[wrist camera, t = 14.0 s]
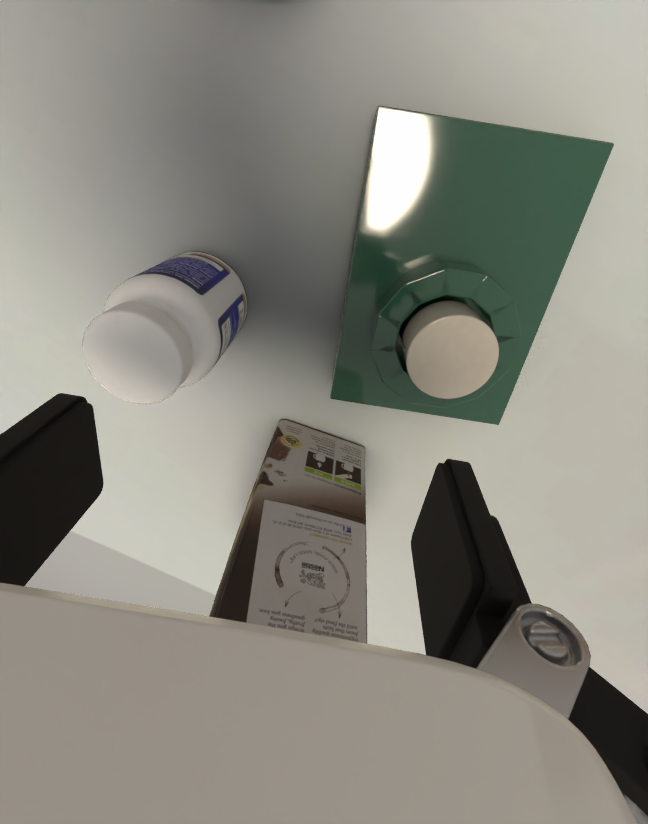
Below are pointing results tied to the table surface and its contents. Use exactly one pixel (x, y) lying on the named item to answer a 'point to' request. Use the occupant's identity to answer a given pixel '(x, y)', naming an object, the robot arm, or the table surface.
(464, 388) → the beige short cylinder
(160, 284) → the pill bottle
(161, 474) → the table surface
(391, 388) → the green push button box
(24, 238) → the table surface
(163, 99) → the table surface
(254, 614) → the coffee box
